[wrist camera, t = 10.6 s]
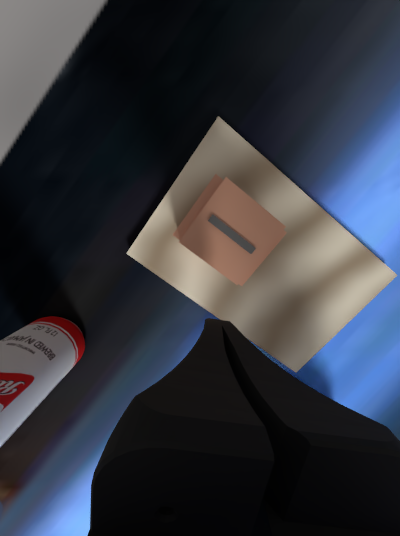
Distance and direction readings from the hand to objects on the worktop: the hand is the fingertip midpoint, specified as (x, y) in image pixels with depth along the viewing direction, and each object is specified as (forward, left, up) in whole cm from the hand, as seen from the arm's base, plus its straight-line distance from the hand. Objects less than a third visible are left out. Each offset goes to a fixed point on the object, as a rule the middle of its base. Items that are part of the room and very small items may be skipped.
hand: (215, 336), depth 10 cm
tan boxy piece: (+2, -5, -8) cm, 10 cm away
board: (-3, -5, -10) cm, 11 cm away
